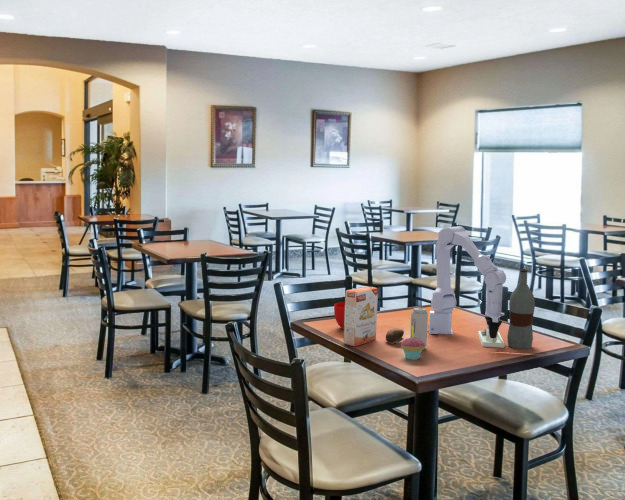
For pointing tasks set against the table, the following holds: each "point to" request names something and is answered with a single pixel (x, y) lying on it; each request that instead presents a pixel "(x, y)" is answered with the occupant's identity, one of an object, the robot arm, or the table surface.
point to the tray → (491, 344)
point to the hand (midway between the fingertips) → (492, 336)
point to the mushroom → (394, 335)
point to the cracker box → (360, 315)
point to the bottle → (521, 315)
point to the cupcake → (412, 346)
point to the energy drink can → (419, 324)
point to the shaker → (489, 336)
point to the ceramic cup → (340, 313)
